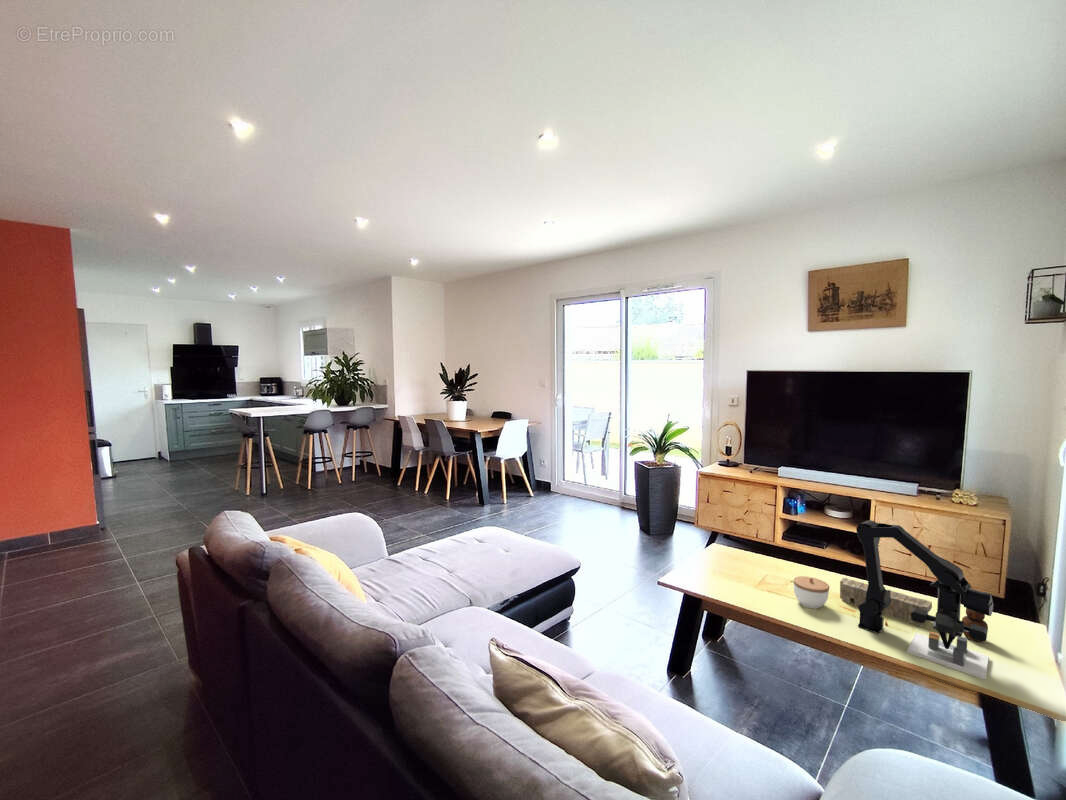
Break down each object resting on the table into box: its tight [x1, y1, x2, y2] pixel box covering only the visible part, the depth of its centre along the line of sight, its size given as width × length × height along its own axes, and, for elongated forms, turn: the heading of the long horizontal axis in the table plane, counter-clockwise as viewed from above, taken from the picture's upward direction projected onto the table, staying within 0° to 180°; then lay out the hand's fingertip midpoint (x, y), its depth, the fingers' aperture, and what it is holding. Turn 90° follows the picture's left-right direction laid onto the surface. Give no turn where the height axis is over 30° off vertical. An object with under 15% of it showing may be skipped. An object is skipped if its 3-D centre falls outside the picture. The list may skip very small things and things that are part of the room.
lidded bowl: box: [793, 575, 830, 610], centre depth 192 cm, size 13×13×11 cm
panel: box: [907, 632, 990, 680], centre depth 156 cm, size 19×15×5 cm
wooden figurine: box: [961, 608, 989, 642], centre depth 166 cm, size 7×6×15 cm
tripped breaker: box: [928, 631, 941, 650], centre depth 159 cm, size 2×3×4 cm
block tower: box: [839, 577, 933, 627], centre depth 187 cm, size 8×8×29 cm
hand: (946, 648), depth 157 cm, fingers closed
